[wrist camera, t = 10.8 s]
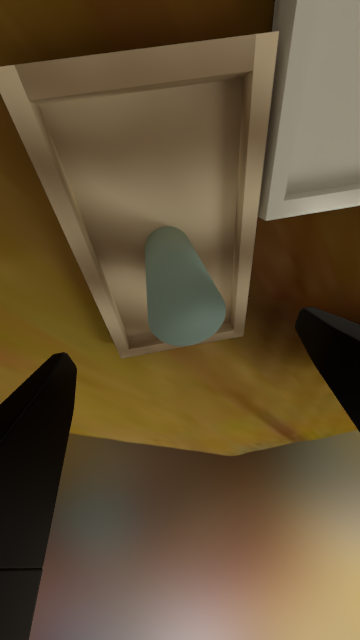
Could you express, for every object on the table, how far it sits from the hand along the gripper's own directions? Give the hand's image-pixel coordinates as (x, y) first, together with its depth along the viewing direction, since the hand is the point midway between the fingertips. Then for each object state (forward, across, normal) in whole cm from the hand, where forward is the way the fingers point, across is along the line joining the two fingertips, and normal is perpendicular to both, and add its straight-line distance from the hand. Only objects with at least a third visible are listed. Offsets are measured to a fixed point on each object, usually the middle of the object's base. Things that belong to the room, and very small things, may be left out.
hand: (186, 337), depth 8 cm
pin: (+9, 0, 0) cm, 9 cm away
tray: (+10, 0, 0) cm, 10 cm away
